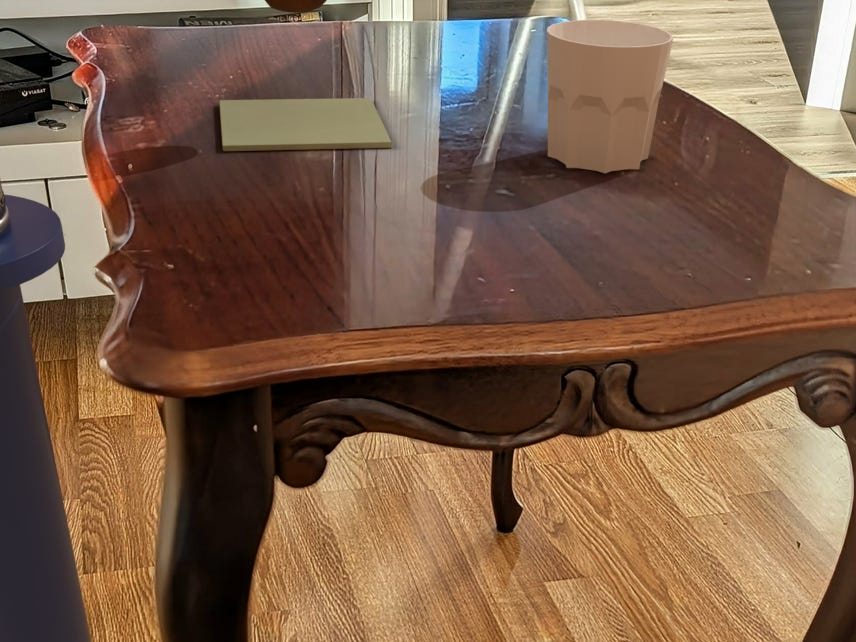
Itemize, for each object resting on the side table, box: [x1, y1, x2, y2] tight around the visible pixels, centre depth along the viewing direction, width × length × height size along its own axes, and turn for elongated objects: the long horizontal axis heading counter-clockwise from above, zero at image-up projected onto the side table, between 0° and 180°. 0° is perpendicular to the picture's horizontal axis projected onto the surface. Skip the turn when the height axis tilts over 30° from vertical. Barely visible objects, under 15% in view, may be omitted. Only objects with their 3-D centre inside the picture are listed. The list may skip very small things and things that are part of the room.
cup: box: [546, 19, 674, 174], centre depth 94 cm, size 10×10×10 cm
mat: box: [218, 97, 393, 152], centre depth 101 cm, size 14×14×1 cm
